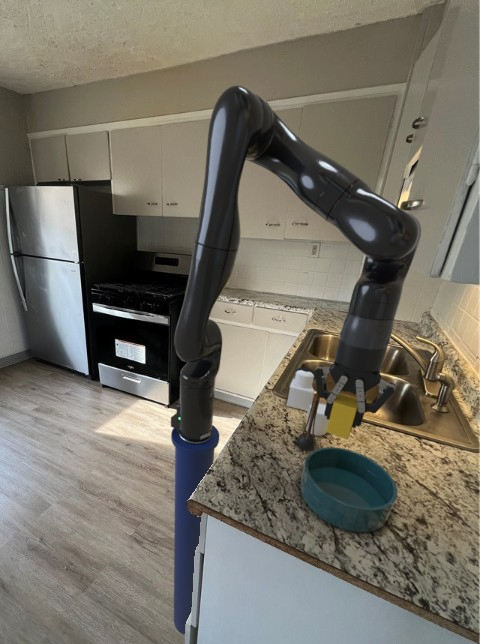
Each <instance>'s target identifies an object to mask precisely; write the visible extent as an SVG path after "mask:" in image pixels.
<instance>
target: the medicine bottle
mask: <svg viewBox="0 0 480 644" xmlns="http://www.w3.org/2000/svg"><path fill="white" fill-rule="evenodd" d="M314 371H315V369H312V368H310V367H298V368H296V369H295V372H294V377H293V378H292V380H291V383H290V385H289V389H288V393H287V400H286V407H289V408H292V409H298V410H301V411H305V412H307V409H308V404H310V403H312V401H313V397H314V394H315V393H316V391H315V390H314V389H313V388H312V382H313V381H314V379H315V374H314Z"/></svg>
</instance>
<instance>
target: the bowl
mask: <svg viewBox="0 0 480 644" xmlns="http://www.w3.org/2000/svg"><path fill="white" fill-rule="evenodd" d="M299 483H300V484H299V489H300V494H301V496H302V498H303V500H304V503H306V505H307V506H308V507H309V509H311V510H312V511H313V512H314V514H316V515H317V517H319V518H321V519H322V520H324V521H325V522H327V523H329V524H331V525H333V526H334V527H337V528H338V529H339V528H340V529H341V530H345V531H350V532H355V533H370V532H374V531H378V530H379V529H381V528H382V527H383V526H384V525H385V524H386V522H387V521H388V519H389V517H390V515H391V512H392V510H393V508H394V505H395V503H396V501H397V498H398V487H397V485H396V481H394V479H393V477H392V476H391V474H390V473H389V472H388V471H387V470H386V469H385V468H384V467H383V466H381V464H379V463H378V462H376V461H374V460H373V459H372V458H369V457H368V456H366V455H364V454H362V453H359V452H356V451H354V450H350V449H347V448H342V447H335V446H334V447H332V446H329V447H327V446H326V447H320V448H318V449H314V450H312V451H310V453H309V454H308V455H307V456H306V458H305V460H304V464H303V468H302V472H301V477H300V482H299Z"/></svg>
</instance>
